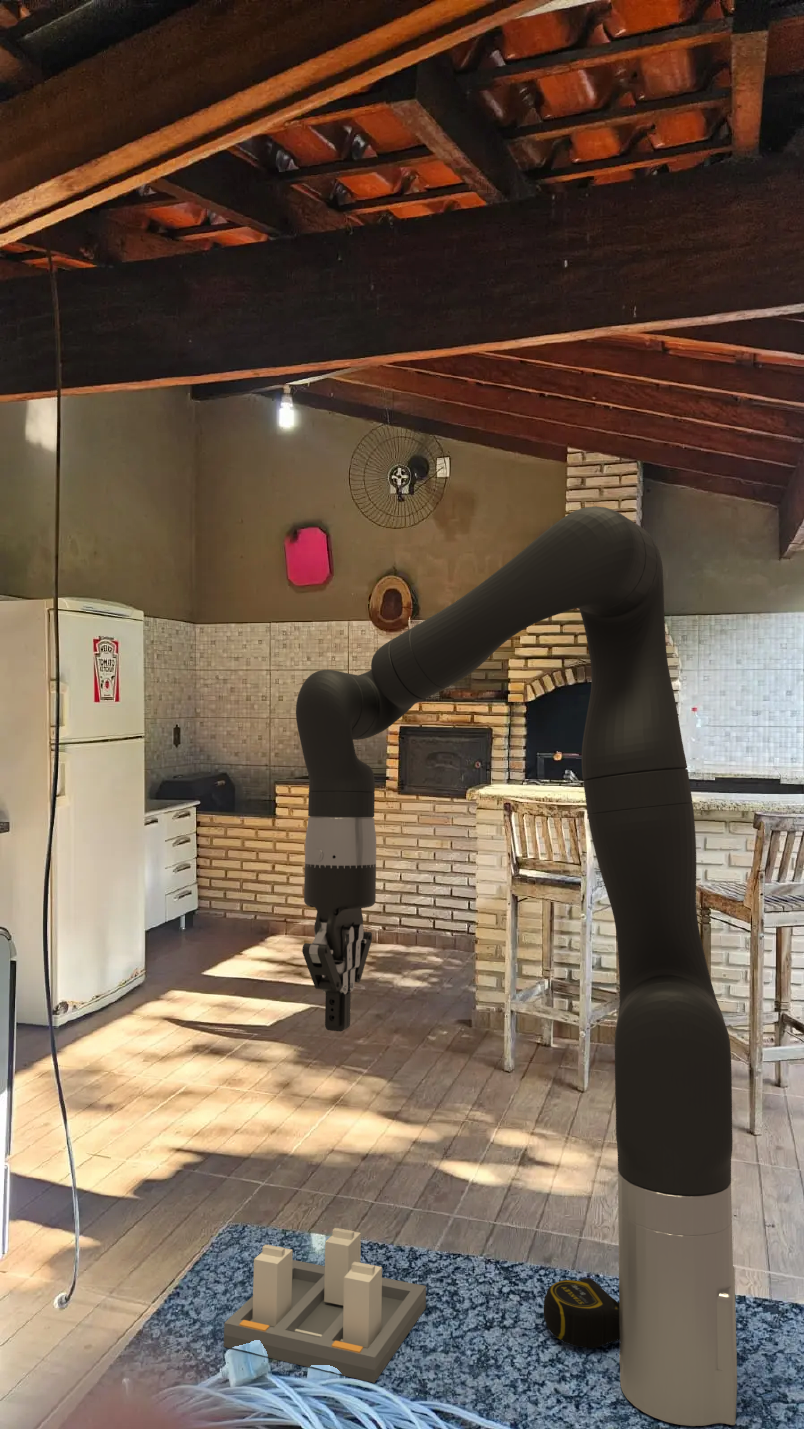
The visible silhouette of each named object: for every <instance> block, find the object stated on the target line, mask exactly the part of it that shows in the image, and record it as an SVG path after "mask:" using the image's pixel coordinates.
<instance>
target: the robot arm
mask: <svg viewBox="0 0 804 1429" xmlns="http://www.w3.org/2000/svg"><path fill="white" fill-rule="evenodd" d="M663 570H664V569H663V561H662V555H661V552H660V550H659V548H658V546H657V544H656V542H655V540H654V538H653V537H652V536H651V535H650V533H649V532H648V531H647V530H645V529H644V528H643V527H642V526H640V525H639V524H638V523H635V522H634V521H633V520H631V519H629V518H628V517H626V515H623V514H622V513H620V512H619V511H616V510H614V509H611V508H608V507H605V506H604V507H603V506H597V505H596V506H595V505H594V506H585V507H582V508H579V509H576V510H574V511H572V512H570V513H568V514H566V516H564V517H562V518H561V519H560V520H558V521H556V523H554V524H553V525H551V526H550V527H549V528H548V529H546V530H545V531H544V532H542V533H541V534H540V535H539V536H538V537H536V538H535V539H534V540H533V541H532V542H531V543H530V544H529V545H527V546H526V547H525V548H524V549H522V551H521V552H519V553H518V554H516V556H514V557H513V558H512V559H511V560H509V561H508V562H506V563H505V564H504V565H503V566H502V567H500V568H499V569H498V570H496V571H495V572H494V573H493V574H491V575H490V576H489V577H487V578H486V579H485V580H484V581H483V582H481V583H480V584H479V585H477V586H475V587H474V588H473V589H471V590H470V591H468V592H467V593H466V594H465V595H463V596H461V597H460V598H459V599H458V600H456V601H455V602H452V603H451V604H450V605H447V606H446V607H444V608H443V609H442V610H440V611H439V612H437V613H435V614H433V615H432V616H430V617H428V618H427V619H425V620H423V621H422V622H420V623H417V624H416V625H415V626H413V627H410V629H407V630H406V631H404V632H403V633H400V634H399V635H396V636H395V637H394V638H392V639H391V640H389V641H387V642H385V643H384V644H383V645H381V646H380V647H379V648H378V649H377V650H376V651H375V652H374V654H373V656H372V658H371V664H370V668H371V669H370V670H368V671H366V672H364V673H361V674H354V673H347V672H343V671H340V670H334V669H320V670H318V671H315V672H313V673H311V674H310V675H309V676H308V677H307V678H306V679H305V680H304V682H303V683H302V685H301V687H300V689H299V693H298V696H297V698H296V705H295V719H296V726H297V731H298V732H297V733H298V736H299V740H300V745H301V750H302V751H301V752H302V756H303V760H304V764H305V768H306V771H307V774H308V780H309V782H308V783H309V784H308V802H307V803H308V805H307V810H308V811H307V812H308V813H307V814H308V817H307V827H306V832H305V840H304V841H305V843H304V845H305V846H304V878H303V879H304V884H303V886H304V887H303V888H304V890H303V902H304V904H305V906H308V907H309V908H315V910H316V915H315V916H316V917H315V922H314V925H313V927H314V928H313V929H314V939H313V941H312V943H311V942H310V943H308V942H305V943H303V945H302V950H301V952H302V955H303V958H304V960H305V961H304V962H305V964H306V966H307V969H308V971H309V975H310V978H311V981H312V983H313V985H314V988H315V990H321V991H322V993H325V1003H324V1004H325V1008H324V1009H325V1010H324V1011H325V1012H324V1016H325V1017H324V1026H325V1027H324V1028H325V1029H326V1030H327V1031H330V1032H331V1031H332V1032H343V1031H345V1030H348V1029H349V1028H350V1027H351V999H352V998H351V997H352V996H351V992H353V991H354V990H355V984H356V983H360V982H361V979H362V977H363V973H364V968H365V965H366V963H367V960H368V959H367V958H368V955H369V952H370V948H371V944H372V941H373V933H372V931H364V925H363V924H364V917H363V911H362V909H367V908H370V907H372V906H374V905H375V903H376V898H377V897H376V896H377V895H376V894H377V893H376V891H377V888H376V887H377V886H376V885H377V833H376V832H377V831H376V826H375V825H376V824H375V818H374V817H375V798H376V797H375V794H376V792H375V790H376V786H375V784H376V782H375V774H374V771H373V769H372V767H371V766H370V765H369V764H367V763H365V762H364V761H361V760H360V759H359V758H358V756H357V753H356V751H355V745H354V744H355V743H354V741H356V740H357V741H358V740H364V739H368V738H371V737H374V736H377V735H378V734H381V733H383V732H384V731H386V730H387V729H388V728H390V727H391V726H393V724H395V723H396V722H397V721H398V720H399V719H401V718H402V717H403V716H404V715H406V714H407V713H408V712H409V711H410V710H411V709H412V708H413V706H414V705H416V704H417V703H419V702H422V701H424V700H426V699H428V698H430V697H432V696H434V695H436V694H437V693H440V692H442V691H443V690H445V689H447V688H449V687H450V686H453V685H454V684H456V683H458V682H459V681H461V680H463V679H464V678H466V677H467V676H469V675H470V674H472V673H473V672H475V670H477V669H478V668H479V667H481V666H482V664H484V663H485V662H486V661H487V660H488V659H489V658H490V657H491V656H492V655H493V654H494V652H496V651H497V650H498V649H499V648H500V647H501V646H503V645H504V644H505V643H506V642H507V641H508V640H510V639H511V638H512V637H514V636H516V635H517V634H519V633H521V632H522V631H524V630H525V629H527V628H529V627H530V626H533V625H535V624H537V623H539V622H541V621H543V620H546V619H548V618H552V617H555V616H556V615H560V614H563V613H565V612H569V611H572V610H575V609H577V610H579V612H580V615H581V616H580V617H581V620H582V623H583V628H584V631H585V632H584V633H585V637H586V642H587V649H588V655H589V662H590V670H591V671H590V672H591V674H590V675H591V676H590V677H591V683H590V684H591V686H590V694H589V700H588V701H589V702H588V707H587V713H586V719H585V726H584V731H583V738H582V746H581V774H582V780H583V789H584V795H585V796H584V797H585V804H586V812H587V818H588V819H587V820H588V825H589V829H590V835H591V840H592V844H593V845H592V846H593V849H594V852H595V857H596V860H597V864H598V868H599V871H600V874H601V877H602V881H603V885H604V888H605V891H606V894H607V898H608V901H609V904H610V906H611V907H610V908H611V912H612V916H613V918H614V919H613V920H614V926H615V932H616V942H617V956H618V976H619V977H618V980H619V983H618V984H619V985H618V986H619V1004H618V1005H619V1006H618V1008H619V1009H618V1016H617V1021H616V1026H615V1033H614V1090H615V1091H614V1092H615V1093H614V1094H615V1100H614V1101H615V1138H616V1148H617V1150H616V1151H617V1201H618V1202H617V1207H618V1208H617V1211H618V1212H617V1214H618V1215H617V1219H618V1220H617V1221H618V1222H617V1223H618V1226H617V1227H618V1232H617V1234H618V1291H619V1292H618V1295H619V1296H618V1299H619V1300H618V1301H619V1302H618V1303H619V1324H620V1340H619V1375H620V1376H619V1377H620V1378H619V1379H620V1381H619V1382H620V1383H619V1384H620V1388H621V1391H622V1394H623V1395H624V1396H625V1398H626V1399H627V1400H628V1401H629V1402H630V1403H631V1404H632V1405H633V1406H634V1407H635V1408H637V1409H638V1410H640V1411H641V1412H643V1413H644V1414H647V1415H648V1416H651V1417H653V1418H655V1419H658V1420H660V1421H662V1422H663V1421H664V1422H666V1423H670V1424H674V1425H680V1426H688V1427H689V1426H690V1427H696V1426H697V1427H699V1426H700V1427H702V1426H705V1427H706V1426H709V1425H715V1424H726V1425H730V1426H735V1425H736V1417H737V1400H738V1399H737V1396H738V1395H737V1394H738V1366H737V1365H738V1359H737V1358H738V1357H737V1322H736V1321H737V1318H736V1315H737V1311H736V1310H737V1308H736V1279H735V1278H736V1274H735V1272H736V1271H735V1267H734V1254H733V1253H734V1249H733V1246H734V1245H733V1244H734V1243H733V1210H732V1209H733V1208H732V1155H733V1142H734V1140H733V1138H734V1137H733V1087H732V1086H733V1082H732V1080H733V1078H732V1077H733V1076H732V1052H731V1050H732V1049H731V1040H730V1035H729V1032H728V1028H727V1025H726V1021H725V1019H724V1016H723V1013H722V1010H721V1007H720V1006H719V1003H718V999H717V998H716V994H715V990H714V986H713V984H712V979H711V976H710V971H709V968H708V964H707V960H706V954H705V951H704V950H705V949H704V946H703V942H702V937H701V932H700V928H699V919H698V913H697V839H696V838H697V836H696V823H695V822H696V821H695V811H694V803H693V797H692V792H691V790H692V789H691V784H690V777H689V769H687V768H688V765H687V764H688V763H687V759H686V758H687V757H686V754H685V749H684V743H683V740H682V739H683V738H682V731H681V726H680V724H681V723H680V720H679V719H680V718H679V714H678V707H677V702H676V698H675V693H674V688H673V683H672V679H671V675H670V674H671V673H670V669H669V663H668V662H669V661H668V655H667V654H668V653H667V652H668V651H667V641H666V621H665V619H666V618H665V616H666V615H665V594H664V593H665V591H664V590H665V589H664V571H663Z"/></svg>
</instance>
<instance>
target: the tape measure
mask: <svg viewBox="0 0 804 1429" xmlns="http://www.w3.org/2000/svg"><path fill="white" fill-rule="evenodd" d="M543 1320H544V1322H545V1324H546V1327H547V1329H548V1330H549V1332H550V1333H551V1334H552V1335H553V1336H554V1337H555V1338H557V1339H558V1340H560V1341H562V1342H563V1343H566V1344H569V1345H571V1346H574V1347H579V1348H589V1349H591V1348H592V1349H593V1348H594V1349H595V1348H600V1347H602V1346H606V1345H608V1344H610V1343H613V1342H616V1341H620V1324H619V1302H618V1301H617V1300H616V1299H615V1298H614V1297H612V1296H611V1295H610V1294H609V1293H608V1292H606V1291H605V1290H604V1289H603V1288H602V1287H601V1285H599V1283H597V1282H596V1281H595V1280H594V1279H593V1278H591V1277H586V1278H581V1279H580V1280H575V1279H574V1280H573V1279H563V1280H559V1281H557V1282H554V1283H553V1284H552V1285H551V1286H549V1287H548V1289H547V1291H546V1294H545V1295H544V1297H543Z"/></svg>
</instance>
